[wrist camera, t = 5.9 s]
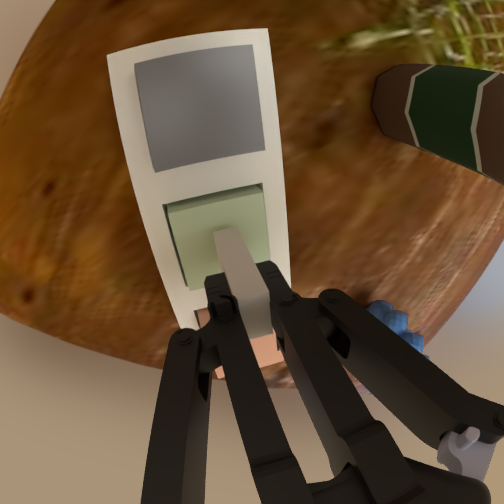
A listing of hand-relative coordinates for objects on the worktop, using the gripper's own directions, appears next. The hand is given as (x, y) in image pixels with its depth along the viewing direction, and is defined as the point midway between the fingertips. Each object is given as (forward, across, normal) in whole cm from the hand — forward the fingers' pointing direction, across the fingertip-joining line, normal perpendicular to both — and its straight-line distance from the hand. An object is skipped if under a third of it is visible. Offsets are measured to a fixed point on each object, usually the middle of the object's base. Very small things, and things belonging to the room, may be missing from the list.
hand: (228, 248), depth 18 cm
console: (+5, 0, 0) cm, 5 cm away
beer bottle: (+5, +18, +8) cm, 20 cm away
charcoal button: (+2, 0, +9) cm, 9 cm away
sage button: (+4, 0, 0) cm, 4 cm away
